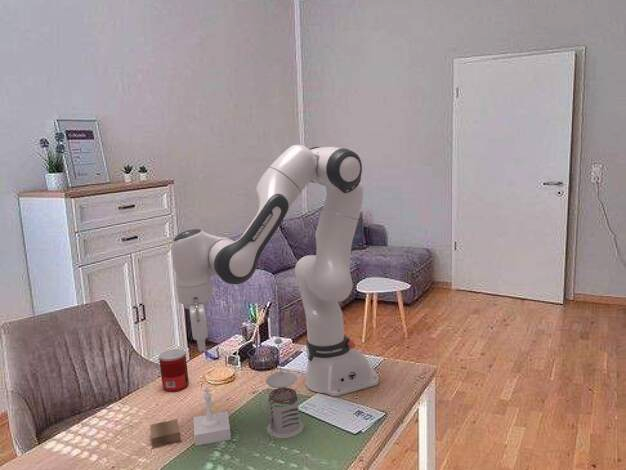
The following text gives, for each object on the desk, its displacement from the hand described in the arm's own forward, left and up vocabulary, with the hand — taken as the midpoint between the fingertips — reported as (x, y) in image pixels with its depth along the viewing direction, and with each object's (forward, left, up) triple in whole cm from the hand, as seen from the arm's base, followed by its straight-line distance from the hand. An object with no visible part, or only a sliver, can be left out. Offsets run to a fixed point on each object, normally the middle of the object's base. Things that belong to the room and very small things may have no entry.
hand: (201, 343), depth 139 cm
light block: (0, +5, -23) cm, 24 cm away
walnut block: (+12, +3, -24) cm, 27 cm away
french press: (-18, +9, -24) cm, 31 cm away
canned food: (+10, -26, -24) cm, 36 cm away
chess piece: (0, +5, -21) cm, 21 cm away
